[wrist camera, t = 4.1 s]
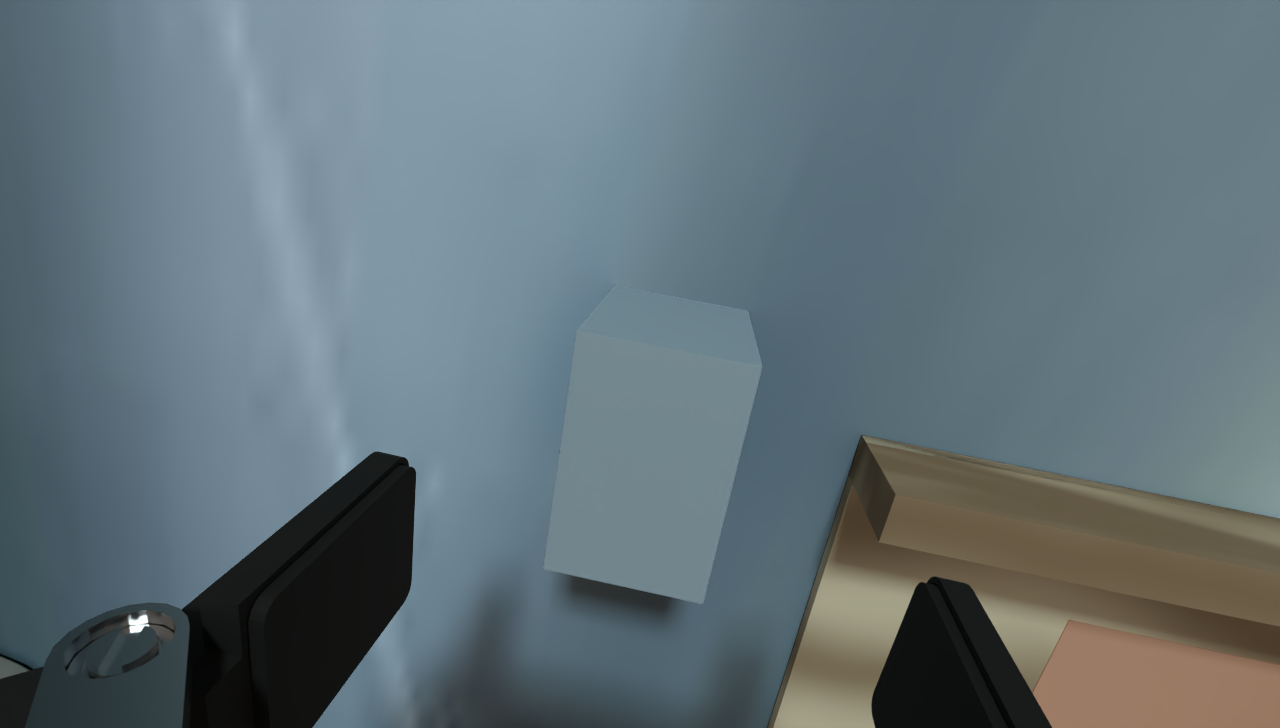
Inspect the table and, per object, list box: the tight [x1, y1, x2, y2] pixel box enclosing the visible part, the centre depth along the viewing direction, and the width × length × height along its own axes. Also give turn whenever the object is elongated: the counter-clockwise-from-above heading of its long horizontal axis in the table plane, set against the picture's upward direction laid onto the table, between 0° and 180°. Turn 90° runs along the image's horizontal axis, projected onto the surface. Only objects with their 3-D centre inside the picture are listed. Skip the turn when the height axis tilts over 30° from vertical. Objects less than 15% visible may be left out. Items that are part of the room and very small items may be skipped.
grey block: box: [544, 285, 762, 604], centre depth 18 cm, size 7×4×6 cm, turn 170°
